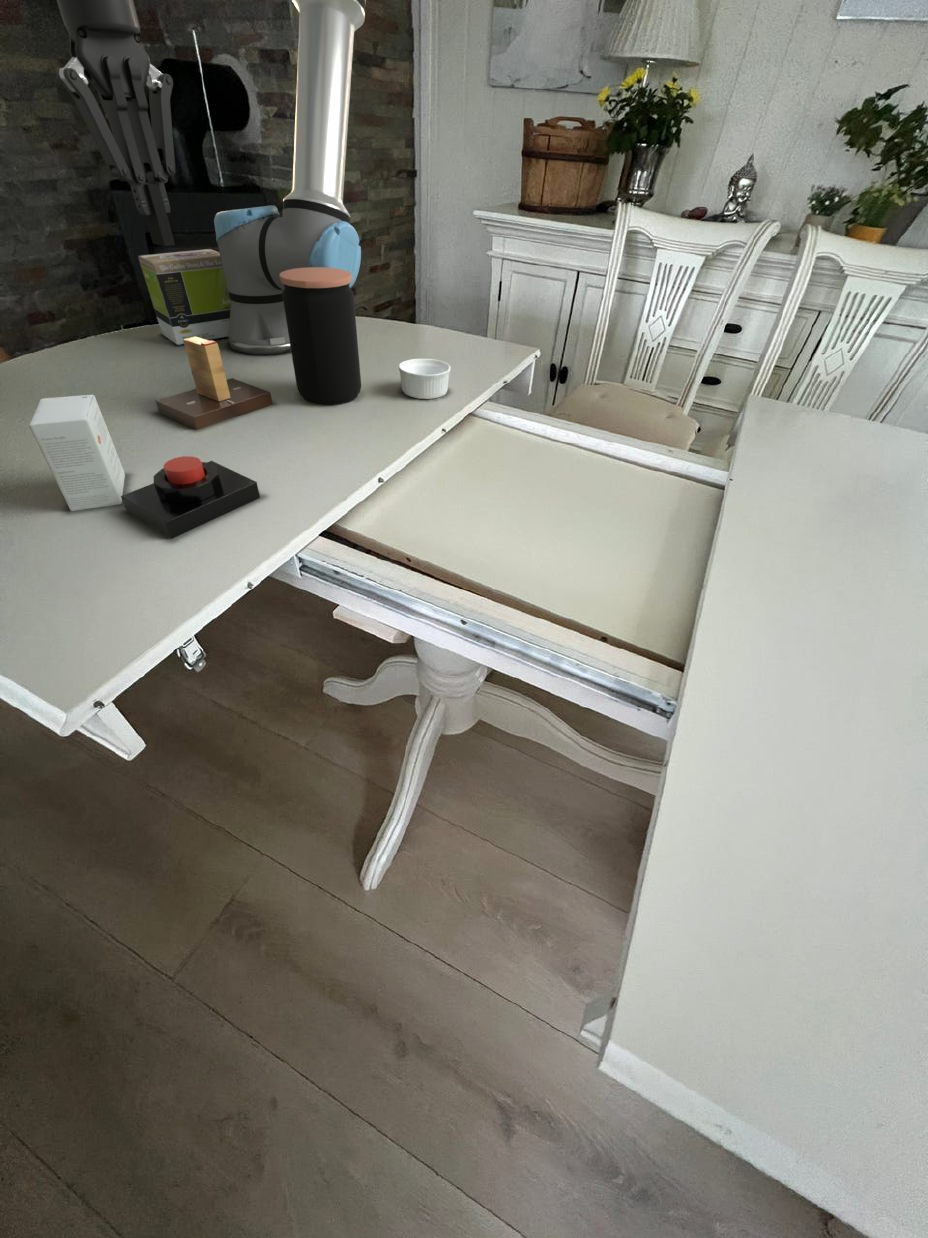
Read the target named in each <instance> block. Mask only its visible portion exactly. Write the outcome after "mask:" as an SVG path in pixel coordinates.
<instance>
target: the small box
mask: <svg viewBox="0 0 928 1238" xmlns="http://www.w3.org/2000/svg"><path fill="white" fill-rule="evenodd" d="M28 427H29V429H30V431H31V433H32V435H33V437H34V439H35V440H36V443H37V445H38V447H39V449H40V451H41V454H42V455H43V457H44V459H45V461H46V463H47V465H48V467H49V469H50V472H51V474H52V475H53V477H54V480H55V482H56V484H57V486H58V488H59V490H60V492H61V494H62V496H63V498H64V500H65V502H66V505H67V506H68V509H69V510H70V512H75V511H83V510H91V509H98V508H104V507H105V508H106V507H111V506H118V505H122V504H123V501H122V498H121V496H122V495H124V486H125V476H126V473H125V470H124V467H123V465H122V463H121V460H120V458H119V455H118V452H117V450H116V447H115V445H114V442H113V439H112V437H111V434H110V432H109V429H108V427H107V424H106V422H105V419H104V417H103V414H102V412H101V409H100V406H99V403H98V401H97V399H96V395H94V394H83V395H69V396H56V397H45V398H44V397H43V398H40V399H39V402H38V404H37V407H36V409H35V411H34V414H33V415H32V417H31V420H30V422H29V425H28Z"/></svg>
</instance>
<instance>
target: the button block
mask: <svg viewBox="0 0 928 1238" xmlns="http://www.w3.org/2000/svg"><path fill="white" fill-rule="evenodd" d="M201 462H202V466H203V469H204V473H205V477H204V478H203V479H201V480H198V481H196V482H194V483H189V484H182V485H180V484H171V483H170V482H169V481H168V479H167V476H166V473H165V470H164V467H163V468H161V469H160V470H159V471H157V472H156V473H155V474H154V475H153V483H151V484H148V485H145V486H143V487H140V488H137V489H135V490H132V491H130V492H127V493H125V494H123V495H122V496H121V498H122V504H123V505H124V508H125V510H126V513H127V514H128V515H131V516H132V517H134V518H135V519H137V520H139V521H140V522H141V523H144V524H146V525H147V526H149V528H152V529H154V530H155V531H156V532H158V533H160V534H162V535H164V536H165V537H167V538H168V539H171V540H173V539H175V538H177V537H179V536H180V535H183V534H186V533H188V532H190V531H192V530H194V529H196V528H199V527H201V526H203V525H205V524H207V523H210V522H211V521H212V522H213V521H214V520H217V519H219V518H220V517H222V516H224V515H226V514H229V513H231V512H233V511H236V510H237V509H239V508H242V507H244V506H246V505H248V504H250V503H253V502H255V501H257V500H259V499H261V495H260V489H259V486H258V482H257V481H255V480H253V479H251V478H249V477H247V476H245V475H243V474H241V473H239V472H236V471H235V470H232V469H230V468H228V467H227V466H225V465H222V464H219V463H218V462H215V461H214V460H210V461H207V462H205V461H201Z"/></svg>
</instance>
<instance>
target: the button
mask: <svg viewBox="0 0 928 1238" xmlns="http://www.w3.org/2000/svg"><path fill="white" fill-rule="evenodd" d="M202 462H203V461H202V460H201V459H200V458H199V457H196V456H190V455H189V456H188V455H187V456H185V455H183V456H178V457H174V458H172V459H171V458H170V459H169V460H168V461H166V462H165V463H163V468H164V470H165V473H166V476H167V479H168V481H169V482H170V483H171V484H180V485H182V484H189V483H194V482H196V481H198V480H201V479H203V478H204V477H205V473H204V469H203V466H202Z"/></svg>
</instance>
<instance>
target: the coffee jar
mask: <svg viewBox="0 0 928 1238" xmlns="http://www.w3.org/2000/svg"><path fill="white" fill-rule="evenodd" d="M279 276H280V281H281V282H282V283H283V284H284V288H285V289H284V290H283V292H282V297H283V303H284V309H285V315H286V322H287V328H288V334H289V340H290V347H291V351H290V353H291V358H292V364H293V371H294V378H295V384H296V389H297V391H298V394H299V395H300V396H301V397H302V398H303V400H304V401H306V402H307V403H310V404H314V405H319V406H336V405H343V404H348V403H350V402H352V401H355V400H356V399H357V398H358V396H359V395H360V393H361V390H362V378H361V377H362V376H361V367H360V355H359V354H360V353H359V343H358V342H359V341H358V332H357V331H358V330H357V319H356V311H355V306H356V305H355V297H354V296H355V295H354V291H353V290H352V288H350V287H349V284H350V283H351V281H352V274H351V273H350V272H348V271H345V270H342V269H336V268H326V267H307V268H295V269H290V270H286V271H283V272H281V273H280V274H279Z"/></svg>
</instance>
